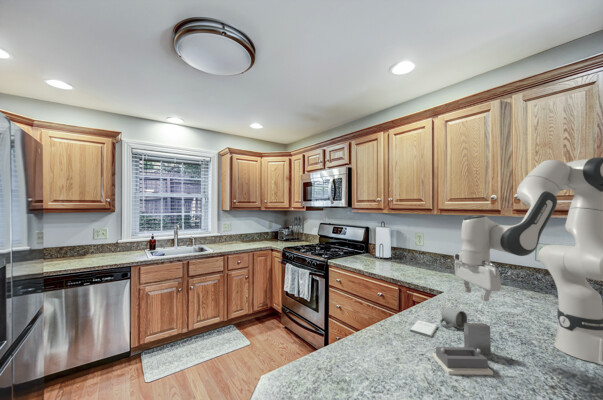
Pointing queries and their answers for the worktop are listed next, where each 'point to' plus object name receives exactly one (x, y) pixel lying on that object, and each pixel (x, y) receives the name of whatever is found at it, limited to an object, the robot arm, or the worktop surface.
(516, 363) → the worktop surface
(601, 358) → the robot arm
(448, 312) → the ceramic mug
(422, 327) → the external hard drive
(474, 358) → the dock
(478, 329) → the block
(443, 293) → the worktop surface
